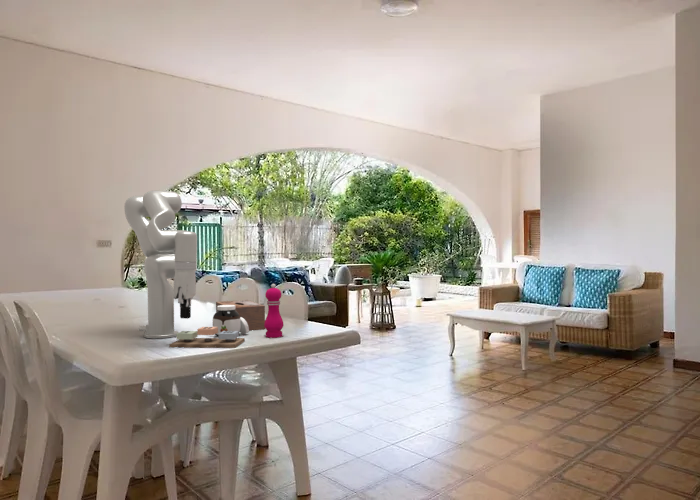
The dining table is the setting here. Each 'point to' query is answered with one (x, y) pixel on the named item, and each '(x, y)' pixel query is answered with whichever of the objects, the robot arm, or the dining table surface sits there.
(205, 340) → the board
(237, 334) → the tile
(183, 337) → the tile
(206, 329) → the tile
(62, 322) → the dining table surface
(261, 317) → the tissue box cover
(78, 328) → the dining table surface
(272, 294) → the pepper mill
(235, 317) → the spread jar
